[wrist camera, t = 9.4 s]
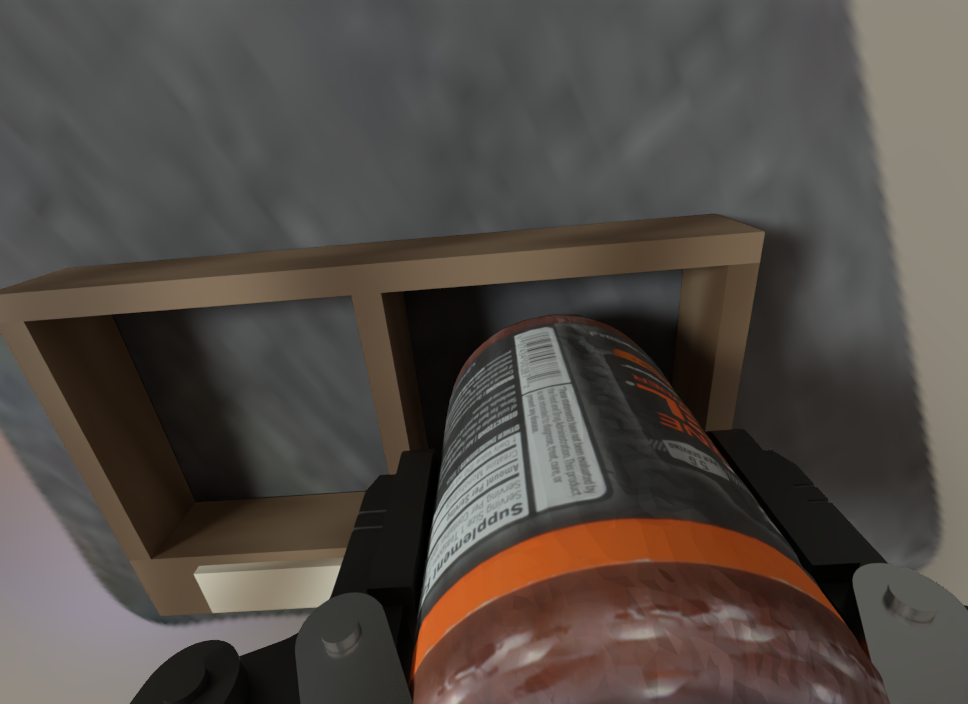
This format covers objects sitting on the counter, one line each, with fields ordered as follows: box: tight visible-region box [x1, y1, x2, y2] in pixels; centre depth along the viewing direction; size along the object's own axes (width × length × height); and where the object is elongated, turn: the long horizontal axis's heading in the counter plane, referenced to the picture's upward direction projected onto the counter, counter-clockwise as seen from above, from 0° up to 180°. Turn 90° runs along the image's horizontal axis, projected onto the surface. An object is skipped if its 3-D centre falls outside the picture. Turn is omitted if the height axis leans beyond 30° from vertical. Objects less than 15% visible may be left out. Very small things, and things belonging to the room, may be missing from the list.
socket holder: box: [0, 214, 765, 616], centre depth 14 cm, size 18×11×3 cm, turn 95°
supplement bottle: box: [408, 314, 890, 704], centre depth 8 cm, size 6×6×11 cm
